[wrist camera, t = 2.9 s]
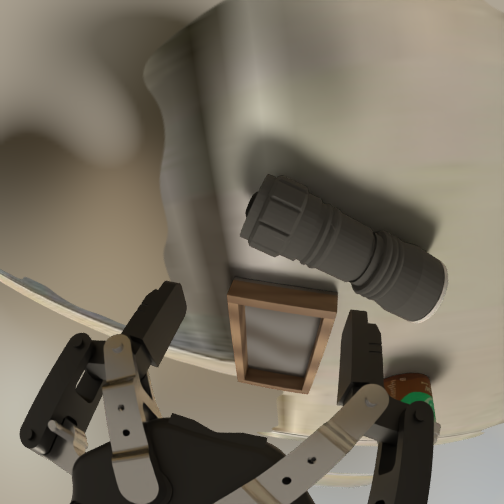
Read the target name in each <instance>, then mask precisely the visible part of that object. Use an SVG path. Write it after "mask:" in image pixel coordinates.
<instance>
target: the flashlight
mask: <svg viewBox="0 0 504 504" xmlns="http://www.w3.org/2000/svg"><path fill="white" fill-rule="evenodd" d="M245 214H246V217H247V218H246V220H245V223H244V225H243V228H242V230H241V233H240V237H242V238H245V239H247V240H248V243H249V246H251V247H253V248H255V249H257V250H260V251H262V252H264V253H266V254H268V255H270V256H273V257H276V256H279V255H282V256H284V257H286V258H288V259H290V260H292V261H293V260H295V259H297V260H299V261H300V263H301V264H303V265H305V264H306V265H307V266H308V267H309V268H316V269H318V270H321V271H323V272H325V273H327V274H329V275H331V276H333V277H336V278H338V279H340V280H342V281H344V282H350V283H351V285H352V288H353V290H354V292H355V293H357V294H360V295H361V296H363V297H366V298H368V299H370V300H374V301H375V302H376V303H377V304H378V305H380V306H381V307H382V308H383V309H384V310H386V311H388V312H390V313H392V314H394V315H397V316H399V317H401V318H403V319H405V320H407V321H409V322H412V323H421V322H423V321H425V320H427V319H428V318H430V317H431V316H432V315H433V314H434V313H435V312H436V311H437V309H438V308H439V306H440V305H441V303H442V301H443V299H444V296H445V294H446V290H447V286H448V273H447V269H446V266H445V265H444V264H443V263H442V262H441V261H440V260H438V259H436V258H435V257H433V256H432V255H430V254H429V253H427V252H426V251H424V250H423V249H421V248H420V247H418V246H416V245H413V244H409V243H405V242H402V241H401V240H400V239H399V238H397V237H395V236H394V235H392V234H389V233H388V232H387V231H378V232H376V233H375V232H373V231H372V229H371V228H369V227H367V226H365V225H364V224H362V223H360V222H358V221H356V220H354V219H353V218H351V217H349V216H347V215H345V214H343V213H341V211H340V210H339V209H338V208H335V207H334V208H333V207H332V206H331V205H330V204H324V203H322V199H320V198H318V197H316V196H314V195H312V194H310V193H309V192H308V188H307V187H306V186H304V185H302V184H300V183H298V182H296V181H294V180H291V179H289V178H287V177H285V176H283V175H281V176H279V177H277V178H276V177H274V176H272V175H269V174H268V175H267V176H266V178H265V180H264V182H263V184H262V186H261V187H260V190H259V192H256V193H255V194H254V195H253V196H252V198H251V199H250V202H249V204H248V206H247V209H246V213H245Z"/></svg>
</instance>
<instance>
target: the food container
mask: <svg viewBox="0 0 504 504" xmlns="http://www.w3.org/2000/svg"><path fill="white" fill-rule="evenodd" d="M383 381H384V387H385V390H386V391H387V393H388V394H389V395H390V396H391V397H392V398H394V399H396V400H399V401H402V402H404V403H407V404H411V403H412V402H414V401H424V402H426V403H428V404H429V405H430V406H431V407H432V409H433V412H434V443H433V445H434V444H435V443H436V442H437V439H438V437H439V434H440V428H441V425H440V424H439V423H436V418H435V410H434V403H433V397H432V391H431V385H430V380H429V378H428V377H427V376H426V375H424V374H420V373H405V374H399V375H395V376H391V377H388V378H385V379H383ZM377 443H379V441H377Z"/></svg>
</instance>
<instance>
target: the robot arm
mask: <svg viewBox="0 0 504 504" xmlns="http://www.w3.org/2000/svg"><path fill="white" fill-rule="evenodd" d="M186 309H187V306H186V301H185V297H184V294H183V290H182V286H181V284H180V283H175V282H170V281H165V282H164V283H163V284H162V286H161V287H160V288H159V290H157V289H155V290H153V291H152V292H151V293H149V294H148V295H147V296H146V297H145V299H144V300H143V302H142V304H141V305H140V306H139V307H138V310H137V311H136V312H135V313H134V315H133V316H132V318H131V319H130V321H129V322H128V324H127V325H126V327H125V328H124V330H123V332H122V333H121V334H116V335H113V336H111V337H110V338H108V339H107V341H96V340H91V338H90V337H89V335H87V334H86V333H78V334H76V335H74V336H73V337H72V338H71V339H70V340H69V342H68V343H67V345H66V347H65V348H64V350H63V351H62V353H61V355H60V356H59V358H58V360H57V361H56V363H55V365H54V366H53V368H52V370H51V371H50V373H49V375H48V377H47V378H46V380H45V382H44V384H43V385H42V387H41V389H40V391H39V393H38V395H37V397H36V398H35V400H34V402H33V404H32V406H31V408H30V410H29V412H28V414H27V416H26V418H25V421H24V422H23V424H22V427H21V429H20V439H21V442H22V444H23V445H24V446H25V447H27V448H29V449H31V450H32V451H34V452H36V453H37V454H38V455H40V456H42V457H44V458H46V459H48V460H50V461H52V462H53V463H55V464H56V465H58V466H59V467H61V468H62V469H63V470H65V471H67V472H68V473H70V474H71V475H72V482H73V495H72V500H71V503H70V504H315V503H314V501H313V500H312V498H311V496H310V495H309V493H308V491H307V490H308V489H309V488H310V487H312V486H313V485H314V484H315V483H316V482H318V481H319V480H320V479H321V478H322V477H323V476H324V475H326V474H327V473H328V472H329V471H330V470H331V469H332V468H333V467H334V466H335V465H336V464H337V463H338V462H339V461H340V460H341V459H342V458H343V457H344V456H345V455H346V454H347V453H348V452H349V451H350V450H351V449H352V448H353V447H354V445H355V444H356V443H357V442H358V441H359V440H360V438H361V437H362V436H366V437H368V438H371V439H374V440H377V441H379V443H378V451H377V458H376V464H375V470H374V475H373V481H372V486H371V491H370V496H369V500H368V504H427V501H428V495H429V488H430V480H431V471H432V459H433V443H434V412H433V409H432V407H431V406H430V405H429V404H428V403H426V402H424V401H414V402H412V403H411V404H407V403H404V402H402V401H399V400H396V399H394V398H392V397H391V396H390V395H389V394H388V393H387V391H386V390H385V387H384V381H383V357H382V346H381V344H382V342H381V333H380V331H379V329H378V327H377V325H376V324H370V323H368V318H367V312H366V311H359V310H350V312H349V315H348V318H347V321H346V324H345V327H344V329H343V333H342V339H341V354H340V370H339V384H338V396H337V405H342V406H343V407H342V408H341V409H340V410H339V411H338V412H337V413H336V414H335V415H334V416H333V417H332V418H331V419H330V420H329V421H328V422H326V423H324V424H323V425H322V426H321V427H320V428H318V429H317V430H316V431H315V432H314V433H313V434H312V435H310V436H309V437H308V438H307V439H306V440H305V441H304V442H303V443H301V444H300V445H299V446H298V447H296V448H295V449H294V450H293V451H291V452H290V453H289V454H288V455H285V454H284V453H283V452H282V451H281V450H280V449H278V448H277V447H275V446H274V445H272V444H270V443H268V442H267V438H266V437H261V436H255V435H250V434H246V433H217V432H214V431H212V430H210V429H208V428H207V427H205V426H203V425H202V424H200V423H198V422H196V421H195V420H192V419H189V418H186V417H183V416H180V415H177V414H174V413H172V415H171V417H170V418H162V415H161V412H160V410H159V408H158V406H157V404H156V401H155V397H154V393H153V389H152V385H151V380H150V376H149V372H148V368H149V366H150V365H152V366H155V367H158V366H159V364H160V362H161V361H162V359H163V357H164V355H165V353H166V351H167V349H168V347H169V345H170V343H171V341H172V339H173V337H174V336H175V334H176V332H177V330H178V328H179V326H180V324H181V322H182V320H183V319H184V317H185V314H186ZM84 370H85V372H84V374H83V377H82V378H81V380H80V382H79V384H78V385H77V388H76V384H77V382H78V381H79V379H80V377H81V375H82V373H83V371H84ZM102 395H103V400H104V407H105V413H106V420H107V426H108V432H109V436H110V442H107V443H105V444H103V445H101V446H99V447H97V448H95V449H93V450H90V451H88V452H85V449H87V448H88V443H87V438H86V435H85V432H86V429H87V427H88V425H89V423H90V420H91V418H92V416H93V414H94V412H95V410H96V408H97V406H98V403H99V401H100V399H101V397H102Z"/></svg>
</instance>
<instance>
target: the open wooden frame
mask: <svg viewBox="0 0 504 504" xmlns="http://www.w3.org/2000/svg"><path fill="white" fill-rule="evenodd" d="M227 300H228V309H229V317H230V326H231V334H232V342H233V349H234V357H235V364H236V372H237V379H238V381H239V382H242V383H247V384H251V385H256V386H261V387H266V388H272V389H277V390H283V391H289V392H295V393H302V394H308V393H309V391H310V388H311V386H312V383H313V380H314V378H315V375H316V373H317V370H318V367H319V364H320V362H321V359H322V356H323V353H324V351H325V348H326V345H327V342H328V339H329V336H330V333H331V330H332V327H333V324H334V321H335V317H336V314H337V302H338V293H337V292H330V291H323V290H316V289H309V288H302V287H296V286H289V285H282V284H276V283H269V282H263V281H257V280H250V279H244V278H238V277H235V278H234V280H233V282H232V284H231V287H230V289H229V291H228V293H227Z"/></svg>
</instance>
